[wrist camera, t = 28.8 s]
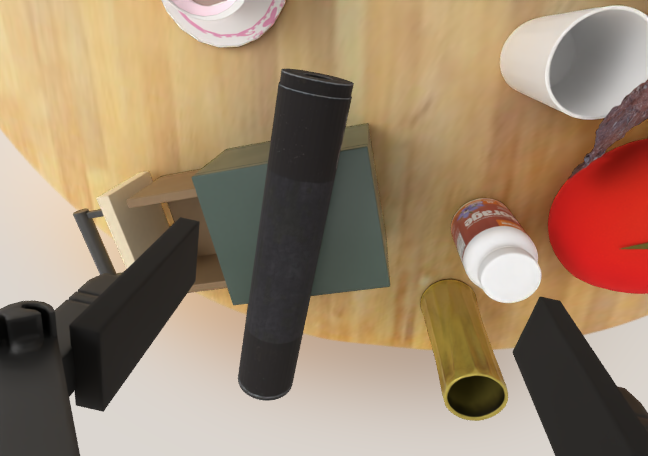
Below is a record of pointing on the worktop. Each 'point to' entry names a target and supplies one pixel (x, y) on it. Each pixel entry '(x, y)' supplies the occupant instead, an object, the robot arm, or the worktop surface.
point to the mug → (579, 59)
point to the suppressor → (291, 226)
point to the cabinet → (340, 229)
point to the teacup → (224, 19)
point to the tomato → (605, 221)
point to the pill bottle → (496, 250)
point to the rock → (618, 123)
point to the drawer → (149, 223)
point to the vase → (462, 352)
